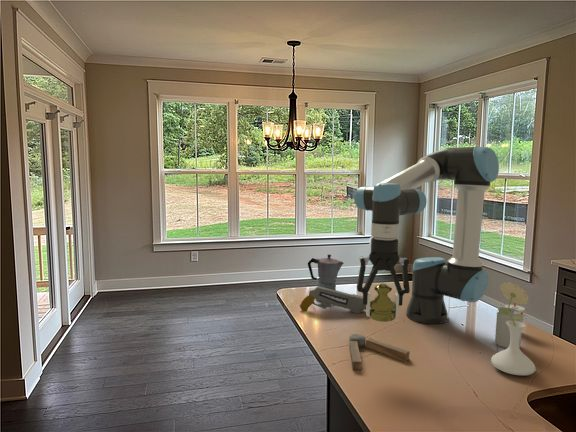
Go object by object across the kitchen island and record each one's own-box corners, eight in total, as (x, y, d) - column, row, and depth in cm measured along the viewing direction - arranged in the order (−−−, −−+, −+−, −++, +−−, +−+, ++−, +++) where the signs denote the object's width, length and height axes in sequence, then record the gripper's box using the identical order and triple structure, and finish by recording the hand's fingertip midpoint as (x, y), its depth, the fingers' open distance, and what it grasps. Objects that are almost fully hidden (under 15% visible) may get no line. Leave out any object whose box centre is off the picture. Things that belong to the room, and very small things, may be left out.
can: (518, 342, 139) (520, 307, 138) (522, 352, 132) (525, 315, 131) (493, 339, 142) (495, 305, 140) (496, 348, 135) (499, 312, 133)
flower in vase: (545, 378, 116) (552, 290, 113) (507, 381, 114) (514, 292, 111) (512, 356, 129) (518, 277, 126) (478, 359, 127) (484, 279, 124)
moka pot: (344, 303, 177) (345, 257, 175) (307, 302, 177) (308, 256, 175) (341, 296, 187) (342, 252, 184) (306, 295, 187) (307, 251, 184)
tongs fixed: (364, 341, 139) (364, 334, 139) (371, 370, 120) (372, 362, 119) (348, 341, 139) (348, 333, 139) (352, 369, 120) (352, 361, 120)
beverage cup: (525, 335, 145) (528, 296, 143) (506, 334, 146) (509, 295, 144) (519, 329, 151) (522, 291, 149) (501, 327, 152) (503, 290, 150)
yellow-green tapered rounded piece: (378, 311, 127) (379, 279, 126) (399, 317, 122) (401, 284, 120) (363, 317, 122) (364, 283, 120) (386, 324, 116) (387, 289, 115)
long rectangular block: (369, 344, 137) (370, 337, 136) (409, 359, 127) (409, 351, 127) (365, 347, 135) (365, 339, 135) (405, 361, 125) (405, 353, 125)
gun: (355, 333, 167) (371, 300, 165) (298, 310, 167) (313, 276, 165) (354, 330, 170) (369, 297, 168) (298, 307, 170) (313, 274, 168)
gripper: (349, 239, 116) (347, 319, 119) (424, 241, 114) (420, 321, 117) (347, 234, 123) (346, 309, 126) (418, 236, 122) (414, 312, 124)
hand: (381, 315), depth 122 cm, fingers closed on yellow-green tapered rounded piece, 7 cm apart
